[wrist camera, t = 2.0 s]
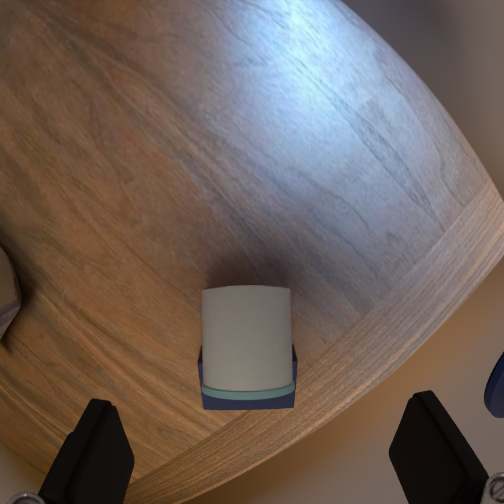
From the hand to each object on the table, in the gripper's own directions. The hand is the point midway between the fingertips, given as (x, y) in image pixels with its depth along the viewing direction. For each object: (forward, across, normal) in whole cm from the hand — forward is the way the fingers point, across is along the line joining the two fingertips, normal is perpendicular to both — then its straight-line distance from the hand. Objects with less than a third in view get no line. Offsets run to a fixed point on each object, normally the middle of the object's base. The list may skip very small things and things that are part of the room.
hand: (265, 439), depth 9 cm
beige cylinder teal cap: (+20, 0, +6) cm, 21 cm away
